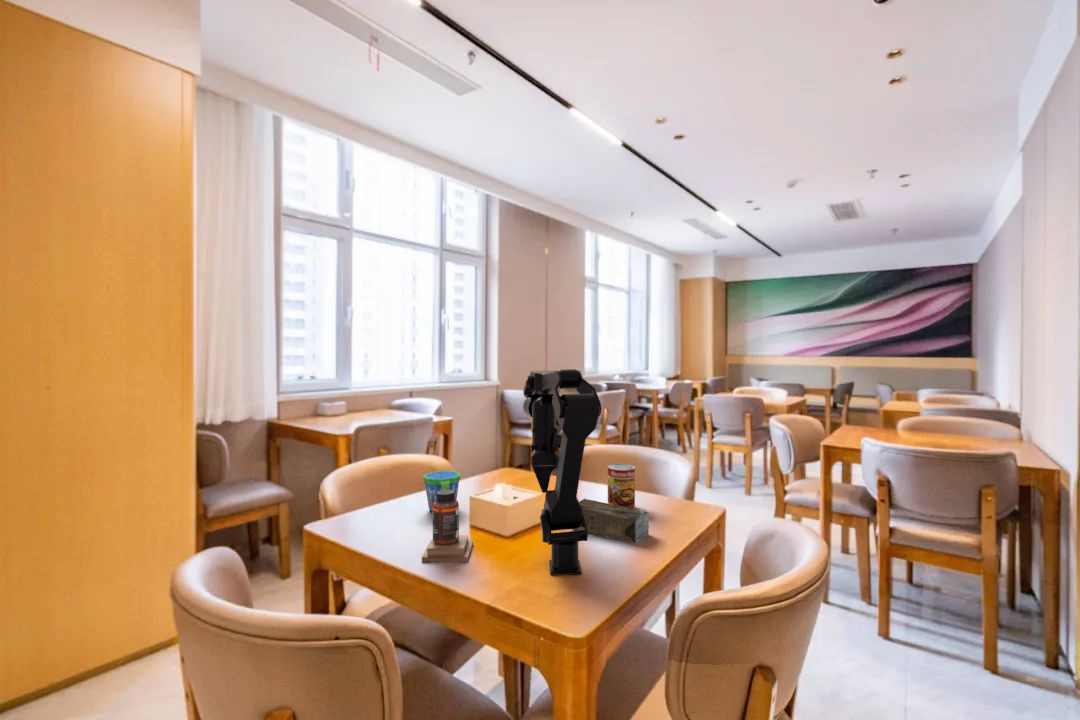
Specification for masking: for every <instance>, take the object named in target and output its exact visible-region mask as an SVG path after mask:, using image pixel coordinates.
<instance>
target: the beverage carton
mask: <svg viewBox="0 0 1080 720" xmlns="http://www.w3.org/2000/svg"><path fill="white" fill-rule="evenodd" d="M579 503H580V505H581V507H582V511H583V515H584V519H585V523H586V526H587V530H588V533H589V534H590V533H591V534H593V535H599V536H603V537H608V538H611V539H615V540H620V541H625V542H628V543H633V544H637V543H639V542H640V541H641V540H643V539H644V538H646V537H647V536H648V535H649V529H650V524H649V516H650V513H649V512H648V511H643V510H641V509H640V510H639V509H636V508H635V509H631V508H626V507H621V506H617V505H612V504H608V502H602V501H597V500H592V499H587V498H583V499H582V500H580V501H579ZM575 530H577V528H576V529H575Z"/></svg>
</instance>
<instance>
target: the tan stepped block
mask: <svg viewBox="0 0 1080 720" xmlns="http://www.w3.org/2000/svg"><path fill="white" fill-rule="evenodd" d="M473 545H474V540H473V539H469V535H460V534H459V539H458V541H457V542H455V543H452V544H447V545H441V544H437V543H435V542H434V541H433V538H432V539H431V540H430V541H429V542H428V545H427V546H426V549H425V551H424V552H423V554H422V556H421V562H422V561H440V562H439V563H441V562H442V563H444V562H445V563H446V562H447V563H450V562H455V563H457V562H459V563H460V562H461V563H463V562H469V559H470V556H471V552H472V550H473Z"/></svg>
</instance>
